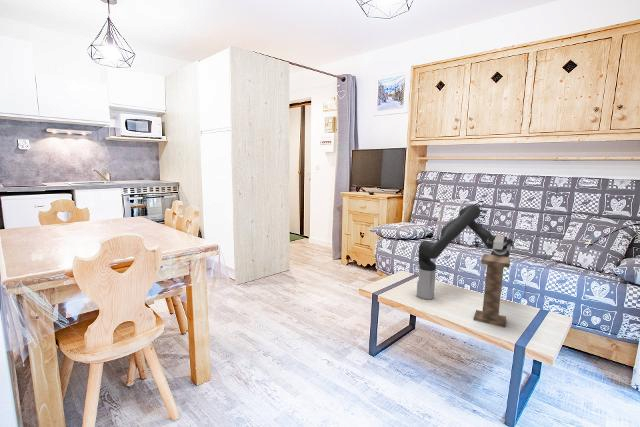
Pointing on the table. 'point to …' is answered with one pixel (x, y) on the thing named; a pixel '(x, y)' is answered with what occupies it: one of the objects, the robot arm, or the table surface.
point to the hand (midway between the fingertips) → (500, 237)
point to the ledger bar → (498, 242)
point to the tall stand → (493, 290)
